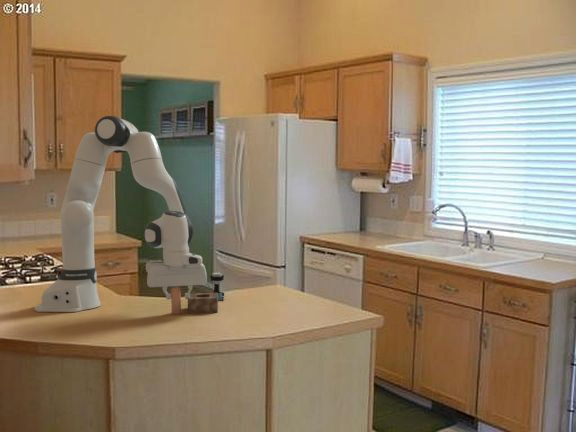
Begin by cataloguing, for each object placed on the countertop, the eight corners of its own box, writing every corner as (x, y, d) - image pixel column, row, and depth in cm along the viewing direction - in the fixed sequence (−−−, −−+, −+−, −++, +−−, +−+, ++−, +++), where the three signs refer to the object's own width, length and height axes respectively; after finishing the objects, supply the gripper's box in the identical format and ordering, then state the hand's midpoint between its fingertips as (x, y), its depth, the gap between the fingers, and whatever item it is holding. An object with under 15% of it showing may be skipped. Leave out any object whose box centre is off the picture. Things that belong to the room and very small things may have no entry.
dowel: (171, 314, 213) (170, 288, 212) (172, 312, 216) (171, 286, 216) (180, 314, 213) (180, 288, 213) (181, 312, 217) (180, 286, 216)
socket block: (187, 313, 214) (187, 299, 214) (190, 307, 224) (189, 293, 224) (217, 312, 215) (217, 298, 215) (218, 306, 225) (217, 292, 225)
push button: (230, 299, 237) (229, 273, 237) (221, 301, 233) (220, 275, 232) (216, 297, 241) (216, 271, 240) (207, 300, 236) (206, 273, 236)
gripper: (144, 261, 210) (146, 302, 210) (205, 258, 211) (207, 299, 212) (146, 258, 216) (148, 298, 217) (206, 256, 218) (207, 295, 219)
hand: (178, 298), depth 215 cm, fingers open, 5 cm apart
